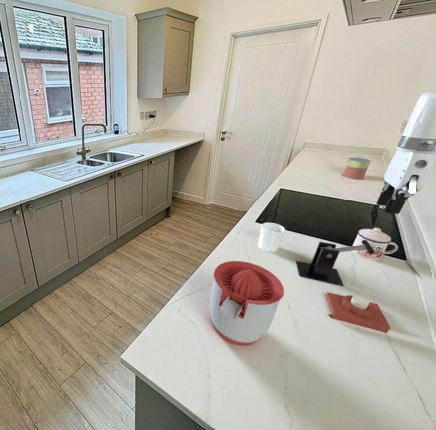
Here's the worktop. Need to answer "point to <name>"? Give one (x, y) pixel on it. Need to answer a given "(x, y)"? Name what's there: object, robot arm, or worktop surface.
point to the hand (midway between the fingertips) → (387, 208)
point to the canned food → (356, 168)
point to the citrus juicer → (243, 301)
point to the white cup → (270, 236)
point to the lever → (354, 247)
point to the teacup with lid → (373, 243)
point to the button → (359, 302)
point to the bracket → (321, 265)
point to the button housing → (357, 313)
